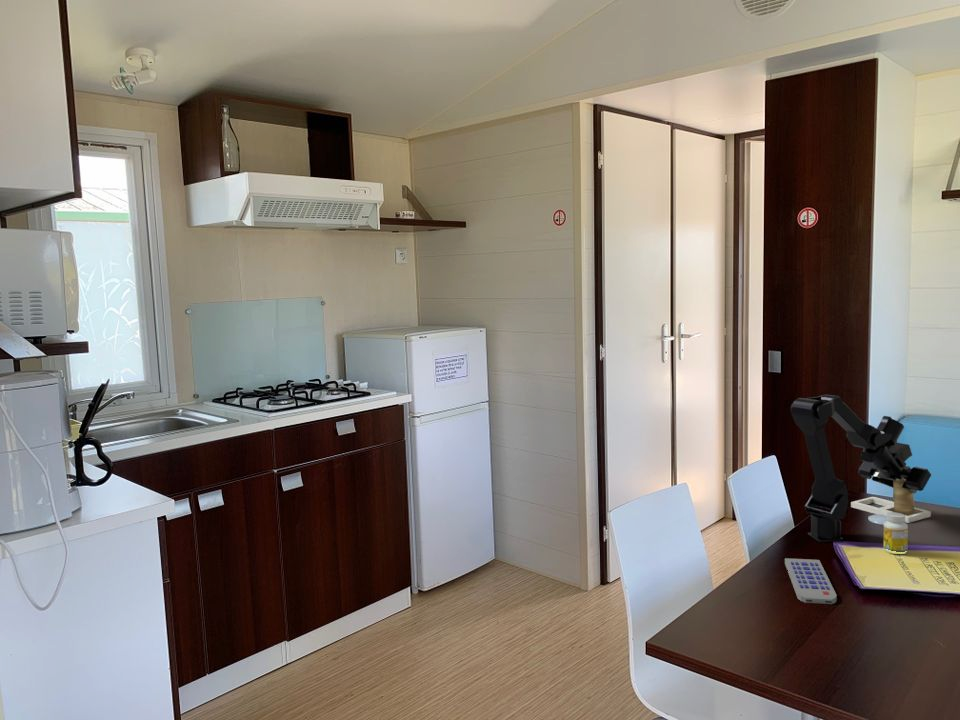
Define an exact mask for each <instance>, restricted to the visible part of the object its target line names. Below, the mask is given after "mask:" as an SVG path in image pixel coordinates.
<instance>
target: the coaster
mask: <svg viewBox="0 0 960 720" xmlns="http://www.w3.org/2000/svg"><path fill="white" fill-rule="evenodd" d="M867 518H868V519H867V520H868V521H869V522H871V523H873V524H875V525H879V526H884V522H886V521H888V520H887V516H886V515H882V514H871V515H869V516H868V517H867ZM904 522H905V521H904ZM905 523H906V522H905Z"/></svg>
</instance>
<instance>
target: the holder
mask: <svg viewBox="0 0 960 720" xmlns="http://www.w3.org/2000/svg"><path fill="white" fill-rule="evenodd" d="M871 504H874V505H875V504H876V505H880V506H881V507H877V506H873V505H871ZM850 508H853V509H857V510H859V511H863V512H868V513H871V514H873V515H877V514H882V515H886V516H887V513H889V512H894V501H892V500H888V499H884V498H879V497H876V496H870V497H866V498H862V499H858V500H854V501H851V502H850ZM931 516H932V511H930V510H926V509H923V508H918V507H915V506H914V514H913V515H910V516H907V515H905V523H906V524H910V523H913V522H917V521H920V520H923V519H924V520H925V519H927V518H931Z"/></svg>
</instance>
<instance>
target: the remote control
mask: <svg viewBox="0 0 960 720" xmlns="http://www.w3.org/2000/svg"><path fill="white" fill-rule="evenodd" d="M784 565H785V568H786V571H787V570H788V571H787V573H788V576H789V579H790V580H791V585H792V586H793V589H794V592H795V594H796V597H797V599H798V600H800V602H803V603H807V604H823V605H833V604H836V603H837V599H838V598H837V596H838V595H837V593H836V591H835V589H834V587H833V584H832V583H831V581H830V579H829V577H828V574H827V572H826V571H825V569H824V567H823V565H822V563H821V561H820V559H807V558H806V559H805V558H804V559H803V558H787V557H786V558H784Z"/></svg>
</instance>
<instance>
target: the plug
mask: <svg viewBox="0 0 960 720" xmlns="http://www.w3.org/2000/svg"><path fill="white" fill-rule="evenodd" d="M910 468H911V466H907V465H906V466H905V467H903V468H902V469H905V470H908V469H910ZM904 482H905V480H904V479H903V478H902V477H901V479H900V480H897V479H896V480H895V481H893V488H892V489H893V502H894V512H896V513H901V514H904V515H907V516H910V515H913V514H914V507H915V499H914V494H915V493H912V492H910V491H908V490H906V489H904V488H902V486H903V484H904Z"/></svg>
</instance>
